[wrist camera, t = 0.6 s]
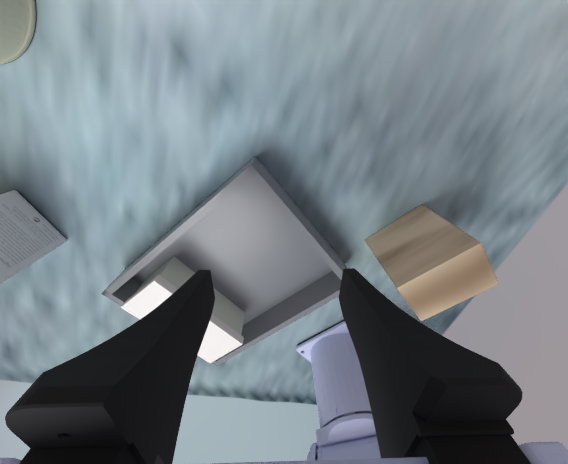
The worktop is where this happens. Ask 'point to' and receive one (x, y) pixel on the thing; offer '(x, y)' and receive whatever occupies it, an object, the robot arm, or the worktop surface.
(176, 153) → the worktop surface
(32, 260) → the small box
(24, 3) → the can
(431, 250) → the wood block
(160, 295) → the white box
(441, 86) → the worktop surface
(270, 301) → the tray
